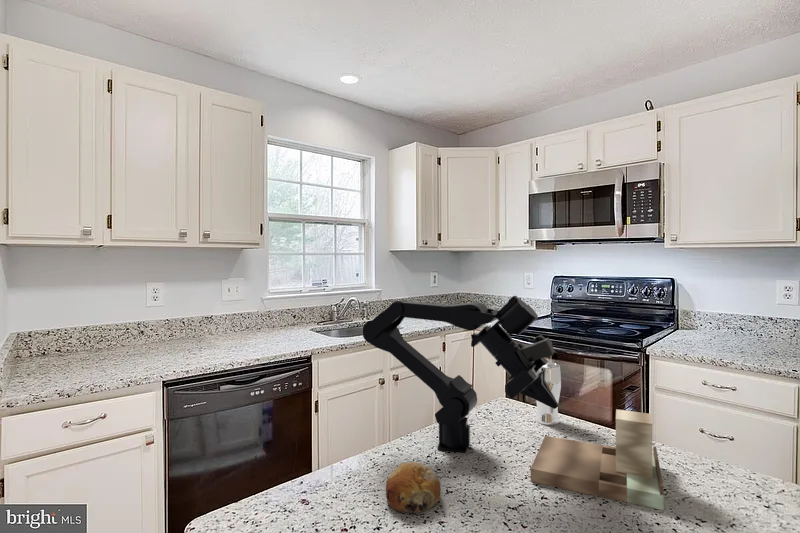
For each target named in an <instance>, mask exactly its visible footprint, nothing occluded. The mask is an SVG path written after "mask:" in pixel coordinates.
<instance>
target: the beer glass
mask: <svg viewBox="0 0 800 533" xmlns="http://www.w3.org/2000/svg"><path fill="white" fill-rule="evenodd" d="M544 369H546V372H545V381H546V383H547V385H548V387H549V388H550V390H551V392H552V394H553V396H554V397H555V399H556V401H557V403H558V404H559V401H560V394H561V388H562V375H561V374H562V373H561V365H560V364H558V363H555V362H549V361H548V362H547V364H546V365H544V366H542V367H541V368H540V369H539V370H538V371H539V372H541V371H543V370H544ZM535 401H536V412H535V417H534V418H535V419H534V420H535V422H537V423H538V424H541V425H544V426H545V425H546V426H556V425H559V423H560V416H559V409H558V408H559V406H558V407H557V408H555V409H553V408H551V407H549V406H547V405H545V404H543V403H541V402H539V401H537V400H535Z"/></svg>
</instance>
